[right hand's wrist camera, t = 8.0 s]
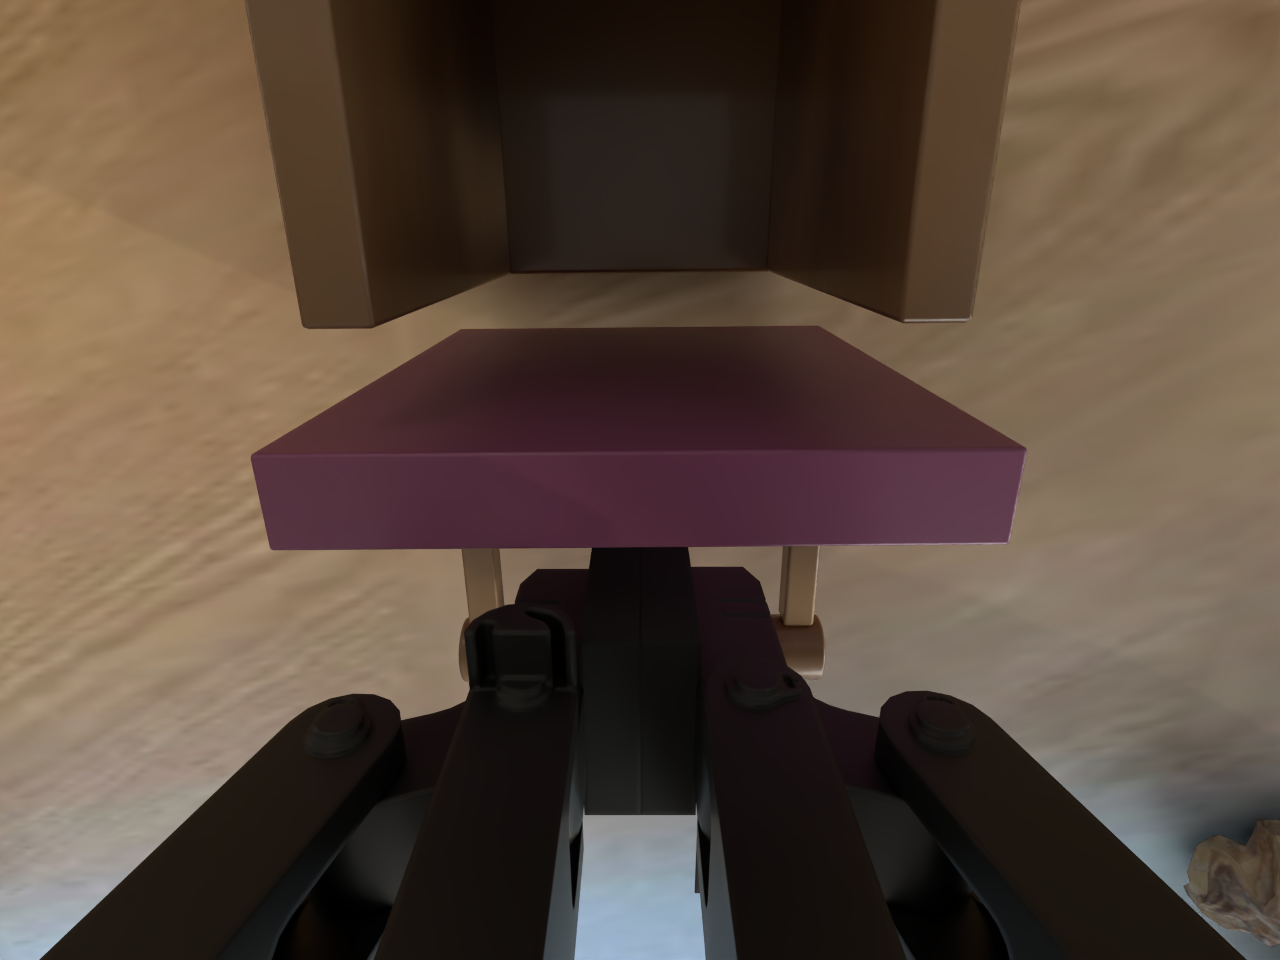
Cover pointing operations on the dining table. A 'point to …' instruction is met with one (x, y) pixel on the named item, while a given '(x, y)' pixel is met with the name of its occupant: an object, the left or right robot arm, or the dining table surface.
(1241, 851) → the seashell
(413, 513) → the drawer
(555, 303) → the dining table surface
